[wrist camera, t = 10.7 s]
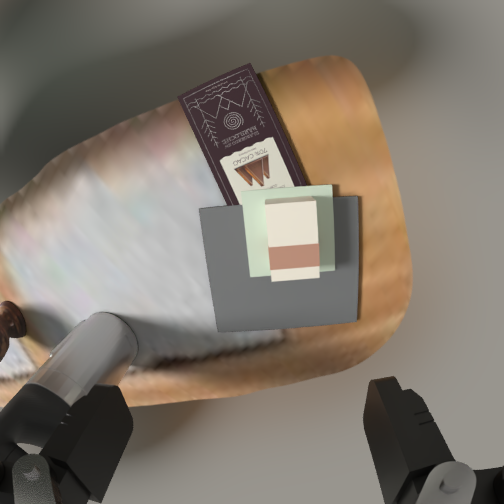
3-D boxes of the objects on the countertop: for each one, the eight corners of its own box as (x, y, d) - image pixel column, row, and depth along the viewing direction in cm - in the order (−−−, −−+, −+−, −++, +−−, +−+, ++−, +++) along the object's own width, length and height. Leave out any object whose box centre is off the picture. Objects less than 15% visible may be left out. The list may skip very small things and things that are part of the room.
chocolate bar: (250, 62, 30) (315, 207, 34) (250, 65, 30) (314, 205, 35) (177, 96, 31) (242, 237, 36) (179, 98, 32) (243, 235, 36)
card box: (264, 199, 34) (264, 204, 30) (311, 195, 33) (316, 200, 29) (271, 268, 36) (271, 281, 32) (315, 264, 36) (320, 277, 32)
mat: (218, 329, 40) (217, 333, 39) (198, 195, 35) (196, 196, 34) (355, 319, 38) (357, 322, 38) (355, 182, 33) (357, 183, 33)
